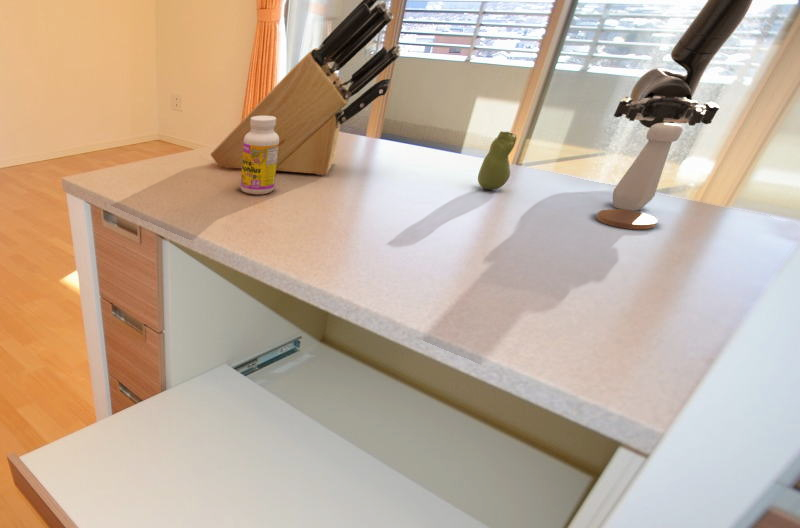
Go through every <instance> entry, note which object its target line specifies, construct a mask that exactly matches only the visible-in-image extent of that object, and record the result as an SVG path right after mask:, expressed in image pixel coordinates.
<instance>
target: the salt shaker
mask: <svg viewBox="0 0 800 528" xmlns="http://www.w3.org/2000/svg"><path fill="white" fill-rule="evenodd" d="M683 131H684V129H683V127H682V125H680V124H679V123H657V124H654V125H652V126H651V127H650V128H648V130H647V133H646V136H645V139H647V140H648V141H647V142H646V144H645V145H644V147H643V148H642V149H641V151H640V152H639V154H638V156H637V157H636V158H635V159H634V161H633V162H632V163H631V165H630V167H629V168H628V169H627V170H626V172H625V173H624V175H623V176H622V178H621V179H620V180H619V182H618V183H617V184H616V186H615V187H614V189H613V192H612V207H614V208H615V209H620V210H630V211H635V212H637V211H641V210H643V209H644V208H645V207H646V205H648V204H649V203H650V202H651V201H652V200H653V199H654V197H655V195H656V192H657V189H658V186H659V183H660V180H661V177H662V174H663V171H664V167H665V165H666V161H667V159H668V155H669V151H670V149H671V147H672V143H673V142H677V141H678V140H679V139H680V137H681V135H682V133H683Z"/></svg>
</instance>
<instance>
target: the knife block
mask: <svg viewBox="0 0 800 528" xmlns="http://www.w3.org/2000/svg"><path fill="white" fill-rule="evenodd" d="M377 1H378V0H362V1H361V2H359V4H358V5H357V6H356V7H355V8H354V9H353V10H352V11H351V12H350V13H349V14H348V15H347V16H346V17H345V18H344V19H343V20H342V21H341V22H340V23H339V24H338V25H337V26H336V27H335V28H334V29H333V30H332V31H331V32H330V33H329V35H327V36H326V37H325V38H324V40H323V41H322V43H320V45H319V46H318V47H315V48H313V49H311V50H310V51H309V52H308V53H307V54H306V55H304V57H302V58H301V60H299V62H298V63H297V64H295V66H294V67H293V68H292V69H291V70H290V71H289V72H288V73H286V75H285V76H283V78H282V79H281V80H280V81H279V82H278V83H277V84H276V85H275V86H274V87H273V88H272V89H271V90H270V91H269V92H268V94H266V95H265V97H264V98H263V99H262V100H261V101H260V102H259V103H258V104H256V105H255V107H254V108H252V109H251V111H250V112H249V113H248V114H247V115H246V116H245V117H244V118H243V119H242V120H241V121H240V122H239V123H238V125H236V127H235V128H234V129H233V130H232V131H231V132H229V134H228V135H227V136H226V137H225V138H224V139H223V140H222V141H221V142H220V143H219V144H218V145H217V146H216V147H215V149H214V150H213V151H211V153H210V156H211V157H212V158H213V160H214V161H215V163H216V164H217V165H218V166H219V167H224V168H225V169H232V168H235V169H242V158H243V144H244V137H245V135H246V134H247V133H249V132H250V131H251V125H250V120H251V117H254V116H273V117H276V125H275V127H274V132H275V133H277V134H278V136H279V147H278V155H277V165H276V172H290V173H302V174H313V175H314V174H315V175H316V176H324V175H327V174H328V172H329V170H330V168H331V167H332V165H333V162H334V159H335V153H336V150H337V143H338V139H339V133H340V130H341V129H340V127H341V126H342V125H343V124H344V123H346V122H347V121H349V120H350V119H352V118H353V117H354V116H357V114H359V113H360V112H361V111H363V110H364V109H365V108H367V107H368V106H369V105H370V104H371V103H373V102H374V101H375V100H376V99H378V98H379V97H382V96H385V95H386V93H387V91H388V88H389V85H390V83H391V78H385V79H381V80H379V81H378V82H376V83H375V84H373V85H372V86H370V87H369V88H368V89H366V90H365V91H364V92H363V93H362V94H361V95H359V96H358V97H357V98H356V99H355V100H353V101H352V102H351V103H350V104H349V105H348V106H347V107H346V108H344V107H345V106H346V105H347V103H348V102H349V100H350V98H351V97H353V96H354V95H356V94H357V93H359V92H360V91H361V90H363V89H364V88H365V87H366V86H367V85H368V84H369V83H370V82H371V81H373V80H374V79H375V78H376V77H377V76H379V75H380V74H381V73H382V72H383V71H384V70H386V68H388V67H389V66H390V65H391V64H393V62H395V61H396V60H397V59H398V58H399V57H400V56H401V51H402V49H401V46H400V45H398V44H395V45H393V47H391V48H390V49H389V50H388V48H387V47H386V46H383V47H381V48H380V49H379V50H378V51H377V52H376V53H375V54H374V55H373V56H371V58H370V59H368V60H367V61H366V62H365V63H364V64H362V66H361V67H359V69H357V70H356V71H354V73H352V75H351V78H350V79H349V80H347V81H344V82H343V81H342V80H341V79H340V77H339V76H338V74H337V73H336V72H337V71H339V70H340V69H342V68H343V67H345V66H346V64H347V63H348V62H349V61H351V60H352V59H353V58H354V57H355V56H356V55H357V54H358V53H359V52H361V51H362V50H363V49H364V48H365V47H366V46H367V45H368V44H369V43H370V42H371V41H372V40H373V39H374V38H375V37H376V36H377V35H378V34H379V33H381V31H382V30H383V29H384V28H385V27H386V26H387V25H388V24H389V23H390V22H391V21H392V20H393V19H394V13H393V11H391V10H390V9H388V7H387V4H386V3H385V2H384V1H379V3H377V4H376V2H377ZM375 4H376V6H374V5H375ZM373 6H374V7H373ZM372 7H373V8H372ZM371 8H372V9H371ZM333 62H334V63H333ZM329 63H333V64H332V66H331V65H330V64H329ZM349 84H350V85H349ZM347 85H349V86H348V88H347V87H346V86H347ZM343 108H344V109H343Z"/></svg>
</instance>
